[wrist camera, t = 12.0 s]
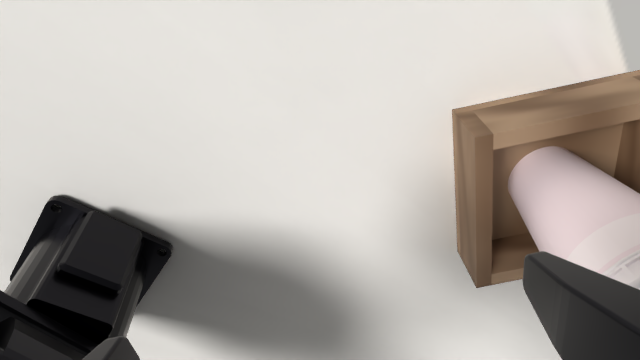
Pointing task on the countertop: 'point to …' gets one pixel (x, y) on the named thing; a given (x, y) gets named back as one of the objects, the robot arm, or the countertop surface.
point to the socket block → (523, 138)
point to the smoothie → (579, 212)
